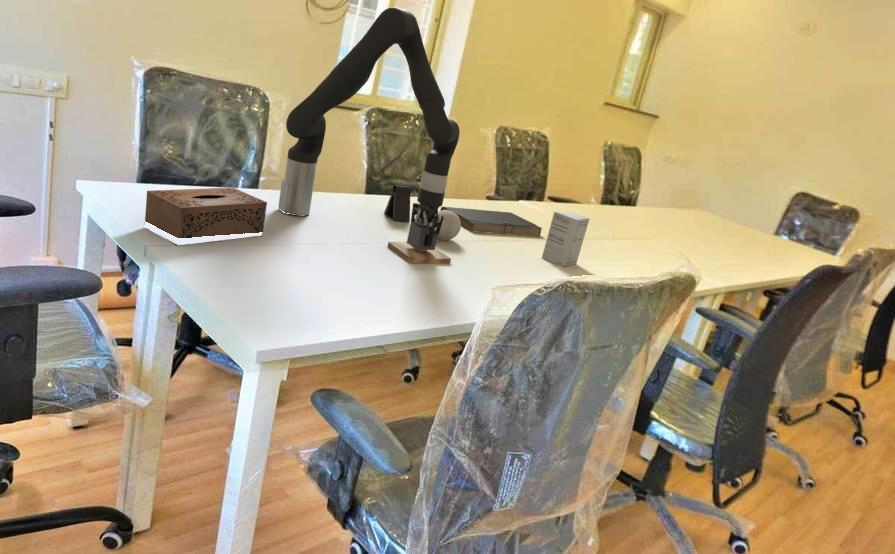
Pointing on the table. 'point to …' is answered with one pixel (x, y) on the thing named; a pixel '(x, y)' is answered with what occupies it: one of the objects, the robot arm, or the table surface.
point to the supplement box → (565, 238)
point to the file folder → (494, 221)
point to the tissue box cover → (205, 212)
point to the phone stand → (399, 204)
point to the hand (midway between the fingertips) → (421, 242)
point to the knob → (419, 236)
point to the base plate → (418, 254)
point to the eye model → (449, 225)
